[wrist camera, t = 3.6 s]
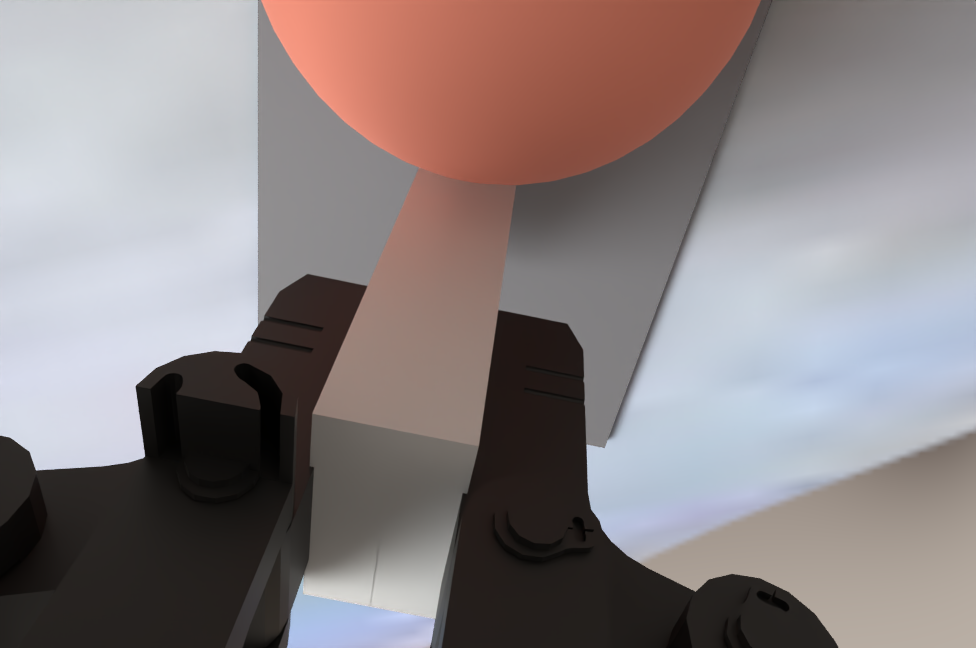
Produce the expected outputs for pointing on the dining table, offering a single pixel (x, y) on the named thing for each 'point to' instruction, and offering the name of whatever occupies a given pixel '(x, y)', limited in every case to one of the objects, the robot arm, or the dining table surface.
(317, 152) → the grey flat board
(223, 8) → the dining table surface
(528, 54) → the ball
